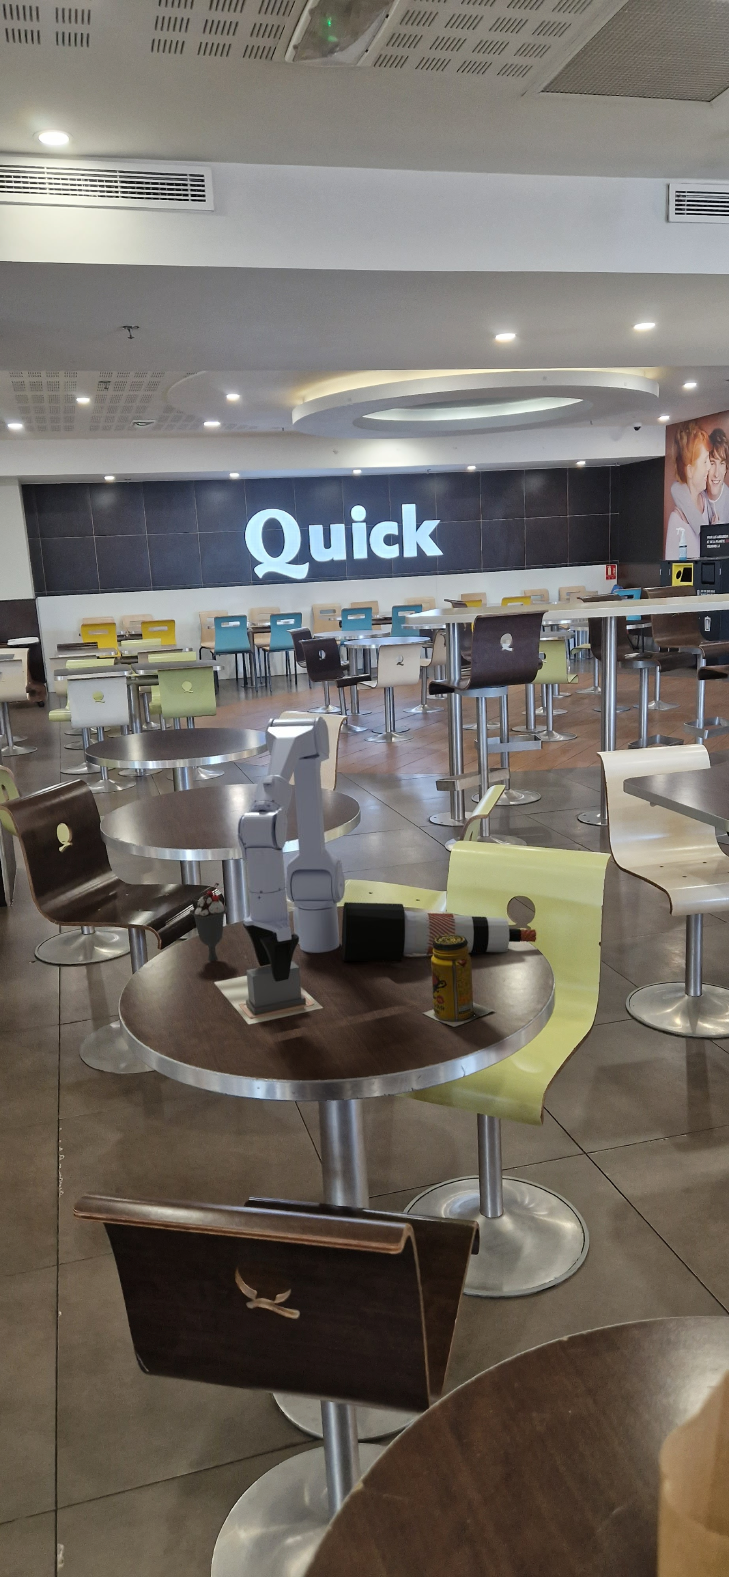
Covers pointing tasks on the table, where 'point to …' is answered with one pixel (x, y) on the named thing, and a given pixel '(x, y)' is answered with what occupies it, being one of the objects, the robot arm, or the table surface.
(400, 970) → the table surface
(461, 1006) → the condiment
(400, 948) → the striped banded cylinder
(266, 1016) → the board
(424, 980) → the table surface
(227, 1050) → the table surface
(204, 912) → the sundae
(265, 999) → the block
